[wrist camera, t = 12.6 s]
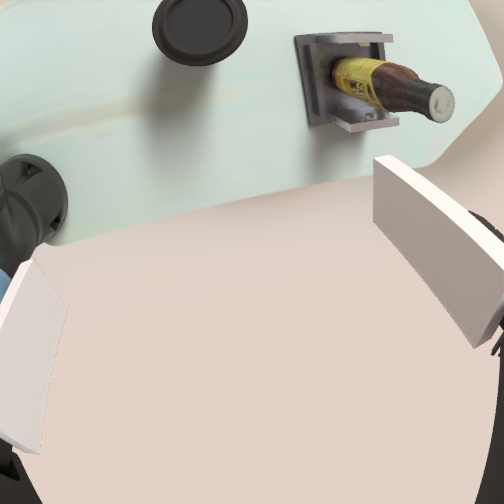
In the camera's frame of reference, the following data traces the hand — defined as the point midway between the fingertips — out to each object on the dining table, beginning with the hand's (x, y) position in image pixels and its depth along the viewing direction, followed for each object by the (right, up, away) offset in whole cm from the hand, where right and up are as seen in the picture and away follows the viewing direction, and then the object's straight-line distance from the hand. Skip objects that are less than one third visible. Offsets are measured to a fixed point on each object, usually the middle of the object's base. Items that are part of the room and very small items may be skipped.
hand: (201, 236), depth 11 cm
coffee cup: (-5, +28, +22) cm, 36 cm away
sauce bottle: (+16, +25, +28) cm, 41 cm away
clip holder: (+16, +26, +29) cm, 42 cm away
